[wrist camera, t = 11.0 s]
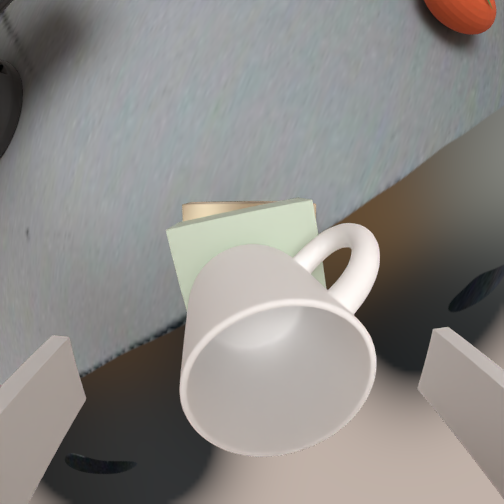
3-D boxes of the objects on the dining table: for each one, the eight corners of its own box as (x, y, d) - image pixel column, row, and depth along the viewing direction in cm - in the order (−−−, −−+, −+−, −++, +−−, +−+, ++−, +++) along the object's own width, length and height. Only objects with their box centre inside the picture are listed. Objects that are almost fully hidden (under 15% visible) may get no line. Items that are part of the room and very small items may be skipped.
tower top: (206, 332, 28) (201, 360, 23) (178, 222, 26) (165, 230, 21) (316, 309, 28) (331, 333, 23) (298, 197, 26) (312, 199, 21)
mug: (287, 172, 20) (361, 171, 10) (365, 255, 22) (459, 308, 12) (164, 305, 21) (138, 402, 11) (251, 370, 23) (279, 475, 13)
